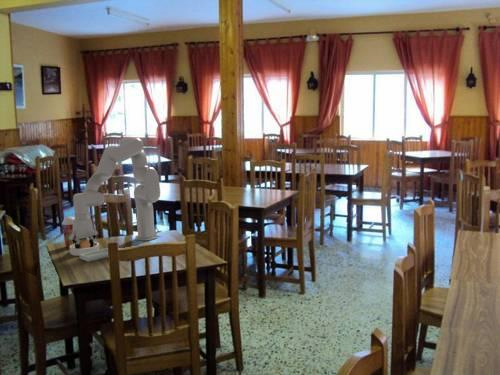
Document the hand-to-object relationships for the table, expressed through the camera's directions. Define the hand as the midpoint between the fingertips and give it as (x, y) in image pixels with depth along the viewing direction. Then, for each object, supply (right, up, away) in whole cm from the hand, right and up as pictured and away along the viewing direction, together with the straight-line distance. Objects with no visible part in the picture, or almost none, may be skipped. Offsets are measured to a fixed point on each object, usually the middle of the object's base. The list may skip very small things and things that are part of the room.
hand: (84, 249), depth 281 cm
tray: (+10, -3, -10) cm, 15 cm away
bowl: (0, -1, 0) cm, 1 cm away
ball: (0, +2, 0) cm, 2 cm away
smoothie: (-10, 0, +11) cm, 15 cm away
